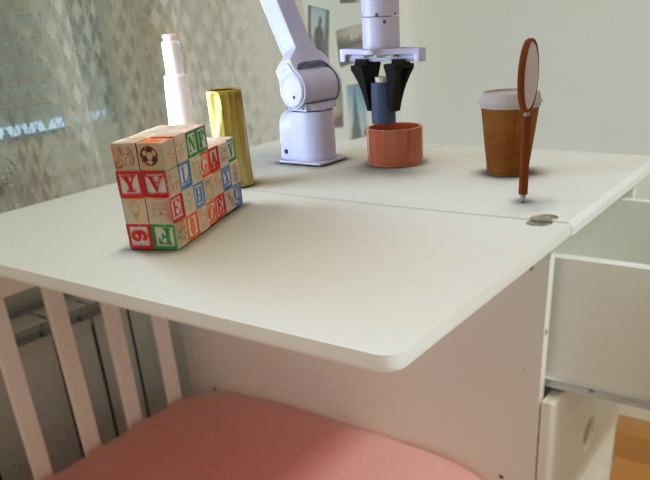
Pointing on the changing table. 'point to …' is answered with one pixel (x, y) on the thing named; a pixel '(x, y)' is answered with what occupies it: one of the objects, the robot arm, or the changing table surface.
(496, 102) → the disposable coffee cup
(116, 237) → the changing table surface
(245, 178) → the vase
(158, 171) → the stack of blocks
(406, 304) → the changing table surface
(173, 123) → the cosmetic bottle
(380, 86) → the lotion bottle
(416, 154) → the cup
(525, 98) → the magnifying glass
